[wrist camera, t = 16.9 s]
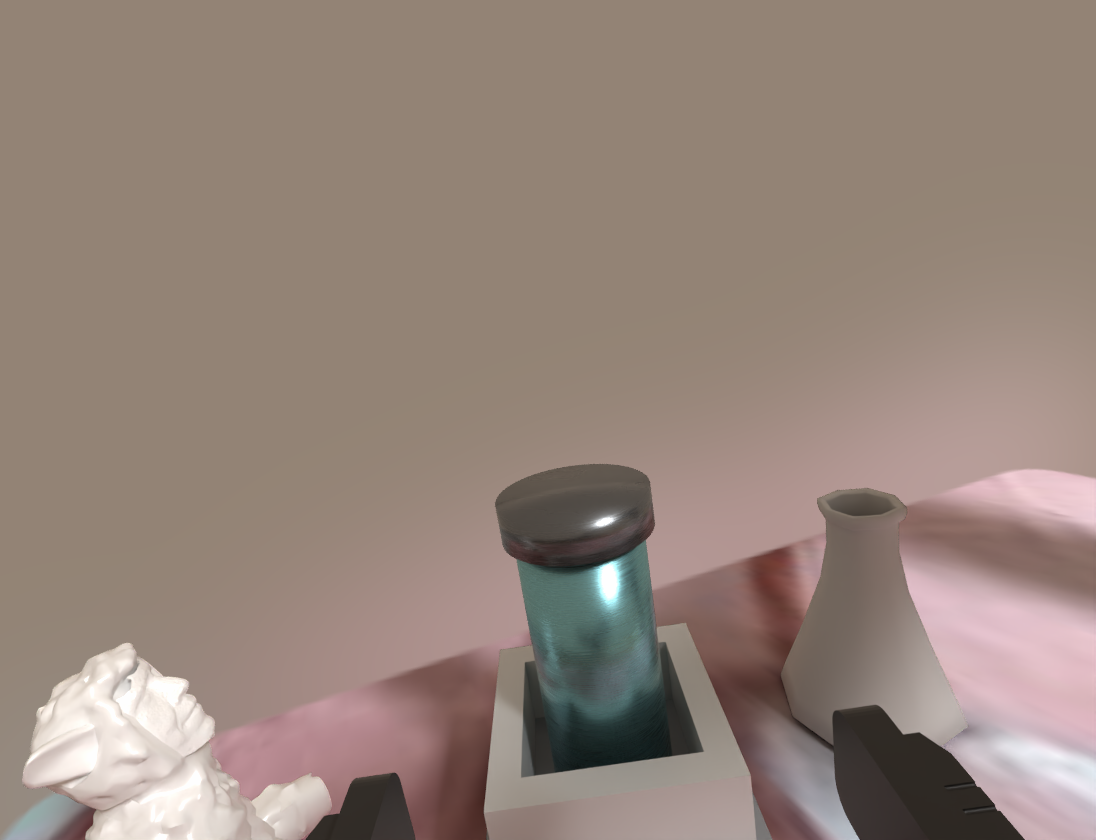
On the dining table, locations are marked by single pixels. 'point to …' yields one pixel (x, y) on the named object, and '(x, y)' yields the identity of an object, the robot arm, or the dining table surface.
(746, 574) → the dining table surface
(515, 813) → the dock
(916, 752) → the robot arm
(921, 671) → the flask
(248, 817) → the seated beast figurine
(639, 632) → the teal capped jar
